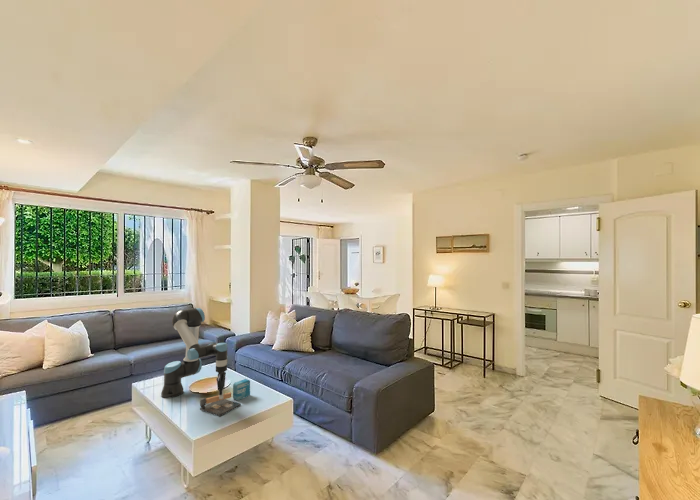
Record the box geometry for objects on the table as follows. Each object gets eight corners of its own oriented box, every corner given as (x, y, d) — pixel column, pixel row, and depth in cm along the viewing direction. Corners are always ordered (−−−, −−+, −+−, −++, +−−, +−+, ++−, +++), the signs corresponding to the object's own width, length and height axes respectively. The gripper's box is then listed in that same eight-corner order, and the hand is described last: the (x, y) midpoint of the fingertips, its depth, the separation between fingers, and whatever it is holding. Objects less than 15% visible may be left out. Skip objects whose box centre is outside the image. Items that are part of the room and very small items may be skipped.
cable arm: (200, 406, 224) (200, 400, 224) (199, 404, 227) (199, 398, 227) (231, 398, 237) (231, 392, 237) (229, 396, 239) (230, 391, 239)
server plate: (199, 409, 226) (199, 405, 226) (221, 399, 241) (221, 395, 241) (219, 416, 216) (219, 412, 216) (240, 405, 232) (240, 401, 232)
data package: (236, 401, 239) (236, 384, 239) (232, 399, 242) (232, 383, 242) (250, 395, 249) (250, 379, 249) (246, 394, 251) (246, 378, 252)
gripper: (223, 368, 226) (223, 402, 225) (229, 362, 239) (229, 394, 238) (212, 368, 226) (212, 402, 225) (219, 362, 238) (218, 395, 238)
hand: (221, 398), depth 231 cm, fingers closed
